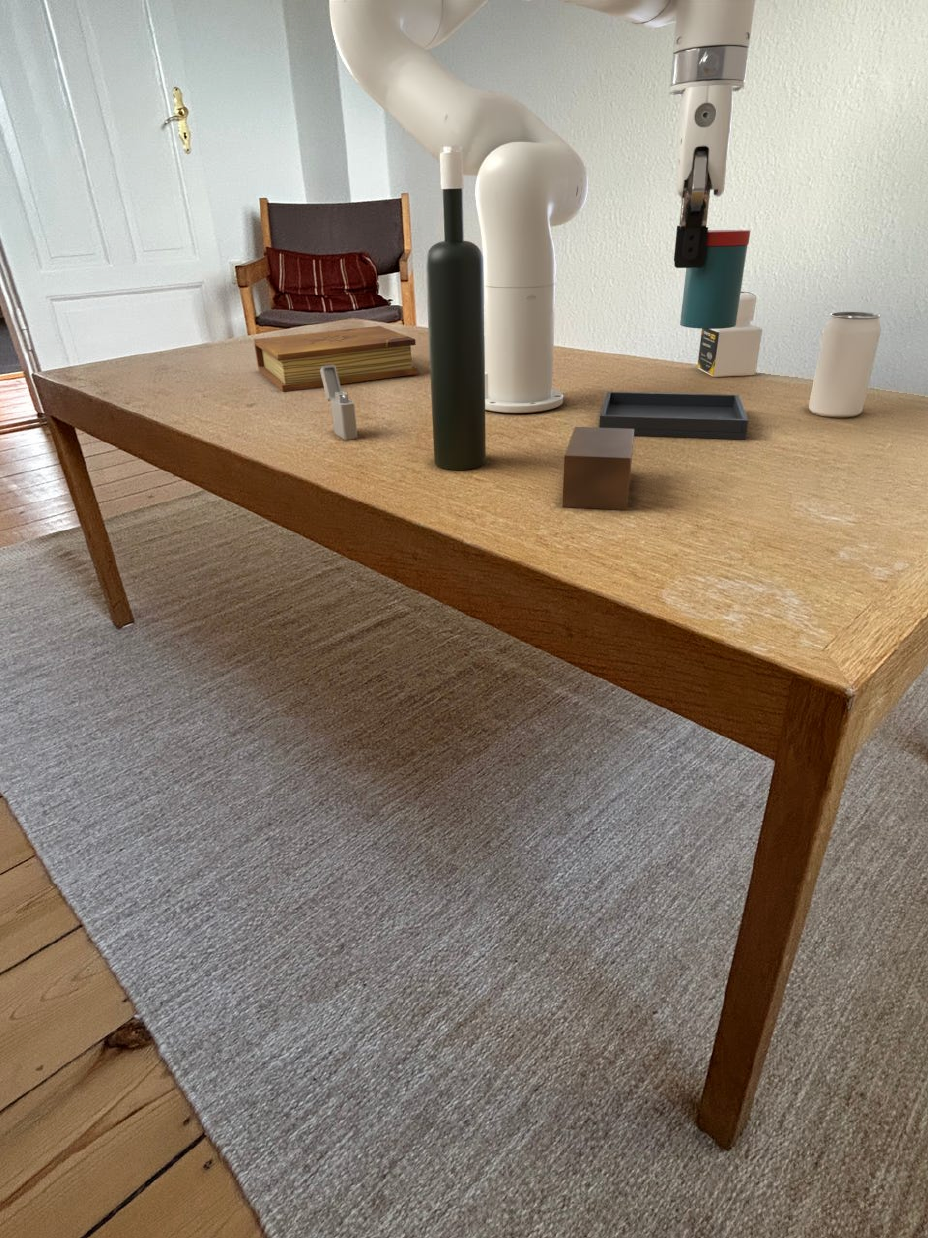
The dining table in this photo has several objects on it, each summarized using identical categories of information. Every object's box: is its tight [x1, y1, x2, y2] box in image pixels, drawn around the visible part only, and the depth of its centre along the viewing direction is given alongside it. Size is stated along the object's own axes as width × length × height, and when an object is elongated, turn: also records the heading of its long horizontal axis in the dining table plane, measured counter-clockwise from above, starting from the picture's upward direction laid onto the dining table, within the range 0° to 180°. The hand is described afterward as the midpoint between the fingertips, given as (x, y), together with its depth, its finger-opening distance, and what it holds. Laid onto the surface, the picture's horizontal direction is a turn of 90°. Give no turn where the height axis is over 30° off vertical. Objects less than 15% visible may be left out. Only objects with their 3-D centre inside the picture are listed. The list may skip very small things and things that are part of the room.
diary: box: [253, 325, 419, 392], centre depth 129 cm, size 23×19×6 cm
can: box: [808, 311, 882, 419], centre depth 96 cm, size 6×6×12 cm
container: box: [679, 229, 751, 330], centre depth 87 cm, size 12×7×12 cm
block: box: [561, 426, 635, 511], centre depth 74 cm, size 6×10×5 cm, turn 167°
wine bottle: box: [424, 146, 487, 471], centre depth 77 cm, size 6×6×30 cm
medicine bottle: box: [696, 291, 763, 378], centre depth 119 cm, size 7×7×12 cm
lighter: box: [320, 365, 359, 441], centre depth 94 cm, size 7×2×8 cm, turn 28°
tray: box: [598, 391, 749, 441], centre depth 96 cm, size 17×13×2 cm
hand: (688, 263), depth 87 cm, fingers closed on container, 5 cm apart
